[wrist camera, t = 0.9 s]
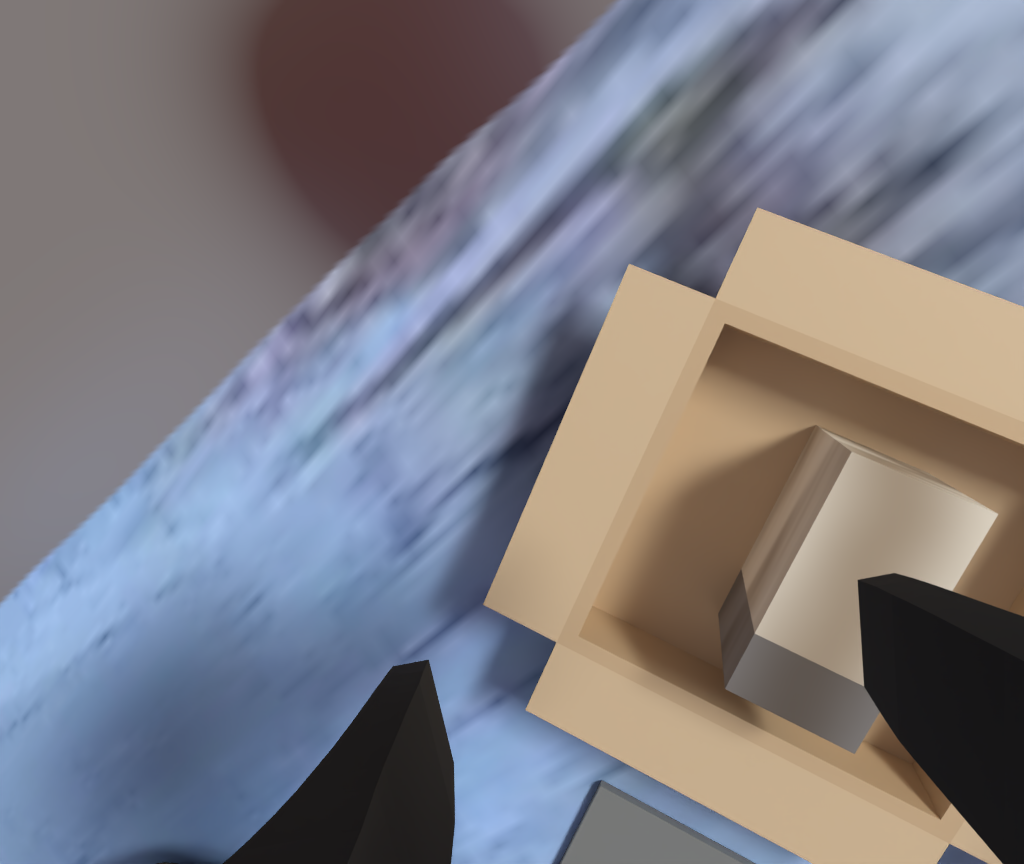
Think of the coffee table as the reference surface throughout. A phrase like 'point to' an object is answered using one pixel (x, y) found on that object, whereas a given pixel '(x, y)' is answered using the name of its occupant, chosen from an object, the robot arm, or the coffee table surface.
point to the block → (836, 579)
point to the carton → (757, 519)
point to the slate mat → (638, 836)
